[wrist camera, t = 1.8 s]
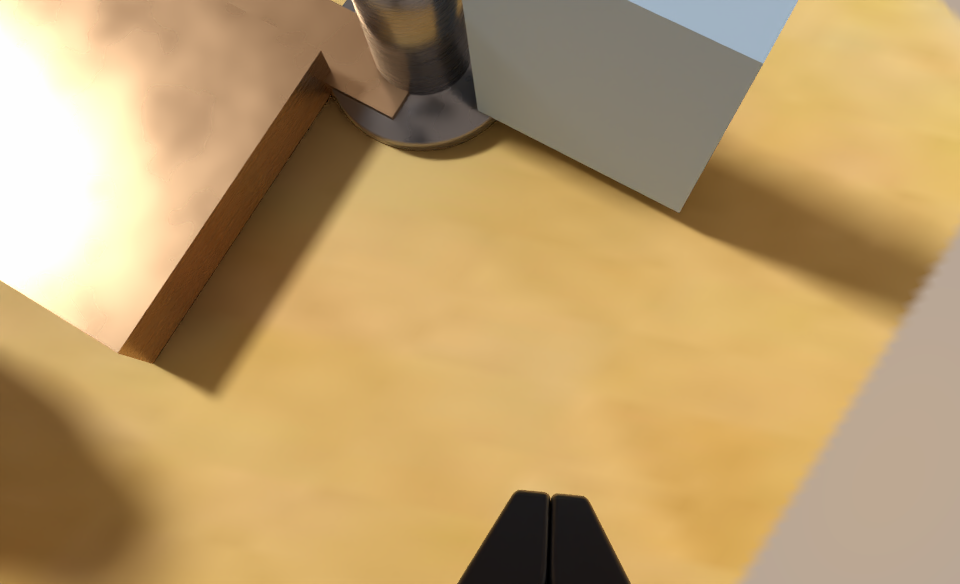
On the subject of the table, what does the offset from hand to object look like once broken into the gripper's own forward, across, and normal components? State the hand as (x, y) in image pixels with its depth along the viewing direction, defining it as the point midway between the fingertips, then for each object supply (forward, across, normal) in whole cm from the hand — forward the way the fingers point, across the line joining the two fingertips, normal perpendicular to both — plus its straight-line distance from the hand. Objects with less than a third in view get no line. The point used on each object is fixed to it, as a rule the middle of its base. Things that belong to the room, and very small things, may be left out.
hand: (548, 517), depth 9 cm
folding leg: (+16, 0, +1) cm, 16 cm away
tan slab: (+16, +10, +1) cm, 19 cm away
